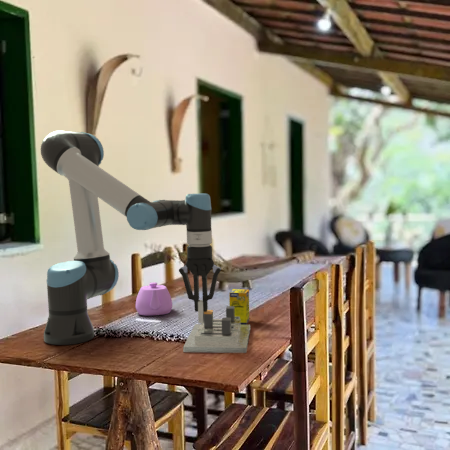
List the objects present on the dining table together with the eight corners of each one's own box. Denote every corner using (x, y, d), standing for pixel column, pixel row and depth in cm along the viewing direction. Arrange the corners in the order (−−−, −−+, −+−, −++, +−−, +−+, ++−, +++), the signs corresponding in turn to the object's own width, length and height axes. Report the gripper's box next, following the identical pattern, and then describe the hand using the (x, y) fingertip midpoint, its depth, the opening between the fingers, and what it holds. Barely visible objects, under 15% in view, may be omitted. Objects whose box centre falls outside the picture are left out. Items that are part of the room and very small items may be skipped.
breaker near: (221, 333, 165) (221, 320, 165) (222, 330, 168) (222, 317, 168) (230, 334, 165) (229, 320, 165) (231, 331, 168) (230, 317, 168)
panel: (183, 352, 163) (183, 338, 163) (195, 328, 187) (195, 316, 187) (246, 353, 162) (246, 338, 161) (250, 329, 186) (250, 316, 185)
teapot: (136, 321, 198) (135, 289, 197) (134, 307, 217) (133, 278, 216) (175, 318, 200) (174, 287, 199) (170, 305, 220) (169, 277, 219)
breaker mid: (204, 327, 173) (203, 312, 172) (205, 324, 176) (205, 310, 175) (212, 327, 173) (211, 312, 172) (213, 324, 176) (212, 310, 175)
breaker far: (226, 321, 179) (226, 308, 179) (227, 318, 182) (226, 306, 182) (233, 321, 179) (233, 308, 179) (234, 318, 182) (234, 306, 182)
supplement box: (247, 325, 190) (246, 292, 189) (229, 324, 192) (228, 292, 190) (249, 320, 196) (249, 289, 195) (232, 319, 197) (232, 288, 196)
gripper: (175, 246, 169) (178, 325, 171) (219, 246, 168) (221, 325, 170) (180, 243, 176) (182, 318, 179) (222, 243, 175) (224, 318, 177)
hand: (201, 321), depth 174 cm, fingers closed
